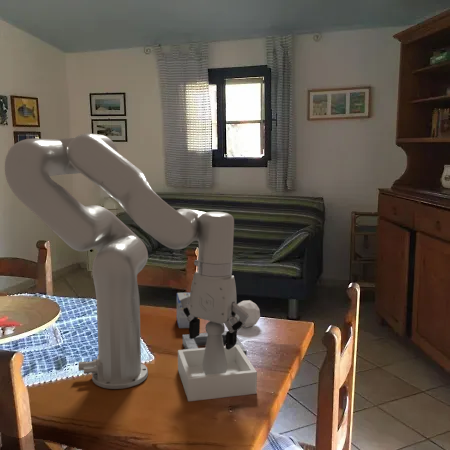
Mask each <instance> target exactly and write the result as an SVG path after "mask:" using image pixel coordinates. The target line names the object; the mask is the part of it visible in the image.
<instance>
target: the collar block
mask: <svg viewBox="0 0 450 450" xmlns="http://www.w3.org/2000/svg"><path fill="white" fill-rule="evenodd" d="M228 331H229V330H227V331H226V330H225V331H224V333H223V334H222V338H223V344H225V345H226V333H227V332H228ZM189 334H190V333H189ZM189 334H182V345H183V348H184V350H186V349H197V348H199V347H200V346H206V342H207V336H208V333H206V332H202V333H200V334H199V336H197V337H195V338H193V339H190V338H189ZM235 345H239V346H240V347H241V349H242V350H243V352H244V353H245V355H246V356H247V355H248V354H247V351H248V350H246V348H245V347H244V345H243V344H242V342H241V341H240V340H239V337H237V342H236V344H235ZM247 357H248V356H247Z"/></svg>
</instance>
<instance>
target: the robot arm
mask: <svg viewBox="0 0 450 450" xmlns="http://www.w3.org/2000/svg"><path fill="white" fill-rule="evenodd" d="M4 174H5V178H6V182H7V185H8V187H9V188H10V190H11V191H12V193H13V194H14V196H15V197H16V198H17V199H18V200H19V201H20V202H21V203H22V204H23V205H24V206H25V207H26V208H28V209H29V210H30V211H31V212H32V213H34V214H35V216H37V217H38V218H39V219H40V220H41V221H42V222H43V223H44V225H46V226H47V227H48V228H49V229H50V230H51V231H52V232H53V233H54V234H55V235H57V237H59V238H60V239H61V240H62V241H63V242H64V243H65V244H66V245H67V246H68V247H70V248H71V249H72V250H74V251H77V252H86V251H87V252H88V251H90V250H93V249H95V250H96V251H97V253H96V255H95V257H94V259H93V261H92V267H91V269H92V270H91V272H92V273H91V274H92V279H93V284H94V285H93V286H94V289H95V298H96V299H95V300H96V319H97V322H96V323H97V344H98V345H97V349H98V350H97V352H98V354H97V356H96V357H97V358H96V359H92V361H79V362H78V371H83V375H88V374H92V375H91V377H92V379H91V380H92V382H93V383H94V384H95V385H96V386H98V387H101V388H102V389H103V388H104V389H108V390H109V389H110V390H120V389H121V390H122V389H127V388H132V387H134V386H138V385H139V384H141V383H143V382H144V381H145V380H146V379H147V378H148V375H149V370H148V369H149V368H148V367H147V366H146V365H145V364H144V363H142V357H141V356H142V351H141V348H142V347H141V346H142V345H141V311H140V309H141V308H140V305H141V303H140V293H139V292H140V291H139V286H138V275H139V273H140V272H141V271H142V270H143V269H144V268H145V266H146V265H147V262H148V258H149V253H148V249H147V246H146V244H145V243H144V242H143V239H141V238H140V237H139V236H138V235H137V234H136V233H135V232H133V230H131V229H130V228H129V226H127V225H126V224H125V223H124V222H123V221H122V220H120V218H119V217H117V215H115V214H114V213H113V212H112V211H111V210H109V209H108V208H105V207H103V206H100V205H95V204H91V205H86V206H85V205H84V204H83V203H82V202H80V201H79V200H78V199H77V198H75V197H74V196H73V195H72V194H71V192H70V191H68V190H67V189H66V188H64V187H63V186H62V185H60V184H59V183H57V182H56V181H55V180H54V179H52V178H51V177H54V176H55V177H56V176H63V175H73V174H74V175H75V174H81V175H83V176H84V177H85V178H87V179H88V181H90V182H92V183H93V184H94V185H96V186H97V187H98V188H100V190H102V191H103V192H105V193H106V194H107V195H108V196H110V197H111V198H112V199H113V200H115V201H116V202H117V203H118V205H120V207H121V208H122V209H123V211H125V213H126V214H127V215H128V216H129V217H130V219H131V220H133V222H134V223H136V225H137V226H138V227H140V229H142V230H143V231H144V232H145V233H147V234H148V235H149V236H151V237H152V238H153V239H154V240H156V241H157V242H158V243H160V244H161V245H163V246H165V247H167V248H169V249H171V250H182V249H185V248H187V247H188V246H190V244H192V243H193V242H195V241H197V242H198V258H197V259H194V262H193V264H194V266H197V271H196V272H194V273H193V279H192V281H191V285H190V286H191V287H190V292H189V293H190V296H189V297H187V298H184V299H182V300H181V304H182V307H183V311H184V313H185V315H186V316H187V320H188V321H189V328H188V333H189V338H190V339H193V338H195V337H197V336H199V334H200V332H201V331H200V329H201V320H204V321H208V322H210V321H212V322H216V323H221V324H223V323H224V326H225V327H226V329H227V331H228V332H227V333H226V344H225V346H226V349H228V350H229V349H231V348H232V347H234V346H235V344H236V342H237V338H238V337H237V336H238V330H239V329H241V327H242V326H243V325H244V324H245V322H246V320H247V318H248V317H249V315H248V313H247V312H245V311H244V310H243V309H242V308H241V307H239V306H238V305H237V304H238V303H237V287H236V280H235V276H234V275H232V274H233V258H234V257H233V255H234V254H233V252H234V238H235V237H234V235H235V234H234V233H235V218H234V216H233V215H232V214H230V213H228V212H223V211H207V212H205V211H200V210H196V209H189V208H178V209H175V208H174V207H172V206H171V205H170V204H168V203H167V202H166V201H165V200H163V199H162V197H160V195H158V194H157V192H155V190H153V189H152V187H151V185H150V183H149V181H148V177H147V176H146V174H145V173H144V172H143V171H142V170H141V169H140V168H139V167H137V166H136V165H134V164H133V163H132V162H131V161H129V159H127V158H126V157H125V156H123V155H122V154H120V153H119V152H118V148H117V146H116V144H115V143H114V141H113V140H112V139H111V138H109V137H108V136H105V135H103V134H100V133H99V134H98V133H82V134H80V135H76V137H68V138H67V137H66V138H55V139H54V138H52V139H51V138H26V139H22V140H19V141H18V142H16V143H14V144H13V145H12V146H11V147H10V148H9V150H8V152H7V154H6V157H5V161H4ZM236 314H237V315H238V316H239V320H238V322H237V321H236V319H235V316H236ZM200 319H201V320H200ZM232 325H233V326H232ZM242 328H243V327H242Z"/></svg>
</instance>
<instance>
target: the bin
mask: <svg viewBox="0 0 450 450" xmlns="http://www.w3.org/2000/svg"><path fill="white" fill-rule="evenodd" d="M224 350H225V356H226V361H227V367H228V368H227V371H226V373H221V374H211V375H205V374H204V372H203V369H202V364H203V358H204V353H205V347H198V348H197V349H186V350H185V349H178V350H177V370H178V374H179V377H180V380H181V383H182V385H183V390H184V394H185V395H186V399H187V402H195V401H196V402H197V401H203V400H211V399H213V400H214V399H221V398H231V397H238V396H239V397H240V396H247V395H255V394H256V395H257V391H258V390H257V385H258V371H257V370H256V368H255V367H254V365H253V364H252V363H251V361H250V359H249V358H248V356H246V355H245V353H244V352H243V350H242V349H241V347H240V346H239V345H235V346H234V347H232V348H231V349H229V350H228V349H226V345H224Z"/></svg>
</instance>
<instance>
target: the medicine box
mask: <svg viewBox="0 0 450 450" xmlns="http://www.w3.org/2000/svg"><path fill="white" fill-rule="evenodd" d="M189 296H190V292H177V293H176V322H177V326H178V328H179V329H189V321H188V320H187V316H186V315H185V313H184V311H183V307H182V304H181V300H182V299H184V298H187V297H189Z"/></svg>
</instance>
